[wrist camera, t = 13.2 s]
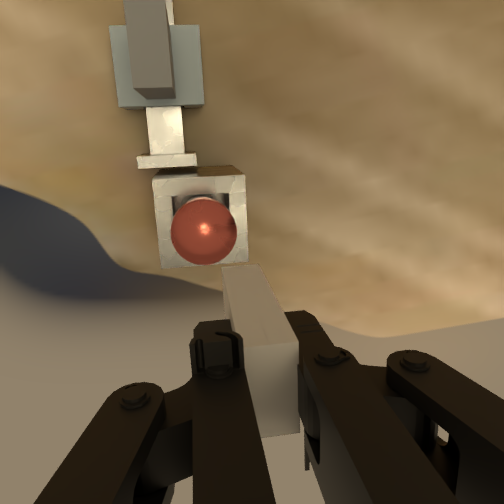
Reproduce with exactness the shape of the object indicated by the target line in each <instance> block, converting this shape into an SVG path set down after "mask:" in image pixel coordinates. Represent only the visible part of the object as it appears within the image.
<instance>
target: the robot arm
mask: <svg viewBox="0 0 504 504" xmlns="http://www.w3.org/2000/svg"><path fill="white" fill-rule="evenodd" d="M221 268H222V282H223V297H224V311H225V319H224V320H214V321H204V322H199V324H198V325H197V326H196V327H195V329H194V338H193V339H192V340H191V342H190V344H189V346H190V357H191V367H192V378H191V379H190V380H189V381H188V382H187V383H186V384H185V385H183V386H181V387H180V388H178V389H175V390H173V391H170V392H167V393H164V392H163V390H162V389H161V387H159V386H157V385H156V384H154V383H147V382H141V383H132V384H130V385H126V386H123V387H121V388H119V389H118V390H116V391H114V392H113V393H112V394H111V395H110V396H109V397H108V398H107V399H106V401H105V402H104V403H103V405H102V406H101V408H100V409H99V411H98V412H97V413H96V415H95V416H94V418H93V419H92V421H91V422H90V423H89V425H88V426H87V428H86V429H85V431H84V432H83V433H82V435H81V436H80V438H79V439H78V441H77V442H76V443H75V445H74V446H73V448H72V449H71V451H70V452H69V454H68V455H67V457H66V458H65V459H64V461H63V462H62V464H61V465H60V466H59V468H58V470H57V471H56V472H55V474H54V475H53V477H52V478H51V479H50V481H49V482H48V484H47V485H46V487H45V488H44V489H43V491H42V492H41V494H40V495H39V496H38V498H37V499H36V501H35V502H34V504H170V503H171V500H172V497H173V494H174V487H175V483H176V482H178V481H181V480H183V479H185V478H188V477H190V476H192V475H193V504H276V502H275V498H274V493H273V489H272V484H271V480H270V476H269V472H268V467H267V463H266V458H265V455H264V450H263V446H262V441H261V438H265V437H272V436H280V435H287V434H294V433H300V418H301V420H302V423H303V425H304V444H305V445H304V447H305V470H309V463H310V462H311V465H312V467H313V470H314V473H315V476H316V478H317V481H318V484H319V487H320V490H321V492H322V495H323V498H324V501H325V504H504V400H503V399H501V398H500V397H498V396H497V395H495V394H493V393H492V392H490V391H489V390H487V389H485V388H484V387H482V386H481V385H479V384H477V383H476V382H474V381H472V380H471V379H469V378H467V377H466V376H464V375H463V374H461V373H459V372H458V371H456V370H455V369H453V368H452V367H450V366H448V365H447V364H445V363H443V362H442V361H440V360H439V359H437V358H435V357H433V356H431V355H429V354H427V353H423V352H419V351H417V350H412V351H411V350H404V351H397V352H394V353H392V354H390V355H389V357H388V358H387V367H378V366H367V365H361V364H359V363H358V361H357V360H356V359H355V357H354V356H353V355H352V354H351V353H350V352H349V351H347V350H345V349H342V348H340V347H335V346H334V345H333V343H332V342H331V340H330V339H329V337H328V336H327V334H326V333H325V331H323V328H322V327H321V325H319V322H318V321H317V319H316V318H315V316H313V315H312V314H310V313H308V312H306V311H305V310H302V311H292V312H283V310H282V308H281V306H280V304H279V302H278V300H277V298H276V296H275V294H274V293H273V291H272V289H271V287H270V285H269V283H268V281H267V279H266V277H265V275H264V273H263V271H262V269H261V267H260V265H259V264H250V265H238V266H226V267H221ZM438 425H439V426H440V427H442V428H443V429H444V430H445V431H447V432H448V433H449V438H448V443H447V442H445V441H443V440H442V439H441V438H440V437H439V436H437V433H438Z"/></svg>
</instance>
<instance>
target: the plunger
mask: <svg viewBox="0 0 504 504" xmlns="http://www.w3.org/2000/svg"><path fill="white" fill-rule="evenodd" d="M236 239H237V227H236V223H235V220H234V218H233V216H232V214H231V213H230V211H229V210H228V208H227V207H226V206H225V205H223V204H222V203H220V202H219V201H217V200H214V199H211V198H209V197H207V196H203V195H199V196H194V197H192V198H190V199H189V200H188V201H187V202H186V203H184V204H183V205H182V206H181V207H180V208H179V209H178V210H177V211H176V213H175V215H174V217H173V220H172V224H171V241H172V244H173V246H174V248H175V250H176V251H177V253H178V254H179V255H180V256H181V257H182V258H184V259H185V260H187V261H189V262H191V263H194V264H198V265H210V264H214V263H217V262H219V261H221V260H222V259H224V258H225V257H226V256H227V255H228V254H229V253H230V252H231V251H232V249H233V247H234V245H235V243H236Z"/></svg>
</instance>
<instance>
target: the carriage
mask: <svg viewBox="0 0 504 504" xmlns="http://www.w3.org/2000/svg"><path fill="white" fill-rule="evenodd" d="M123 3H124V12H125V21H126V25H109V32H110V40H111V48H112V56H113V65H114V73H115V81H116V89H117V97H118V105H119V107H120V108H124V109H127V110H137V109H145V107H165V106H184V108H196V107H202V105H204V90H203V76H202V61H201V46H200V31H199V25H169V20H168V14H167V8H166V2H165V0H123Z"/></svg>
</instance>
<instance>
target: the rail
mask: <svg viewBox="0 0 504 504" xmlns="http://www.w3.org/2000/svg"><path fill="white" fill-rule="evenodd" d="M165 2H166V8H167V14H168V20H169V25H174V15H173V2H172V0H165ZM146 115H147V124H148V134H149V143H150V153H151V154H141V155H139V156H137V164H138V169H141V168H161V167H180V166H197V158H196V152H195V151H193V152H185V148H184V136H183V123H182V111H181V106H165V107H146Z"/></svg>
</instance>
